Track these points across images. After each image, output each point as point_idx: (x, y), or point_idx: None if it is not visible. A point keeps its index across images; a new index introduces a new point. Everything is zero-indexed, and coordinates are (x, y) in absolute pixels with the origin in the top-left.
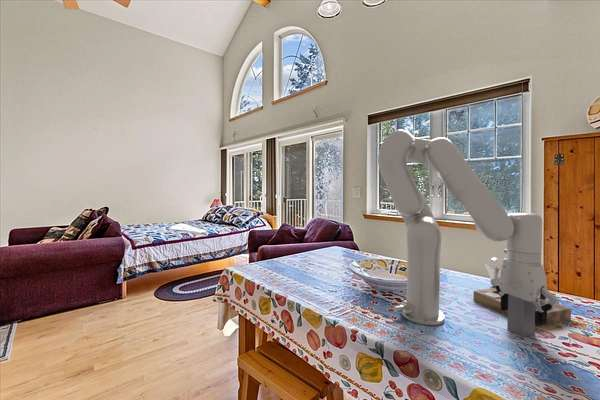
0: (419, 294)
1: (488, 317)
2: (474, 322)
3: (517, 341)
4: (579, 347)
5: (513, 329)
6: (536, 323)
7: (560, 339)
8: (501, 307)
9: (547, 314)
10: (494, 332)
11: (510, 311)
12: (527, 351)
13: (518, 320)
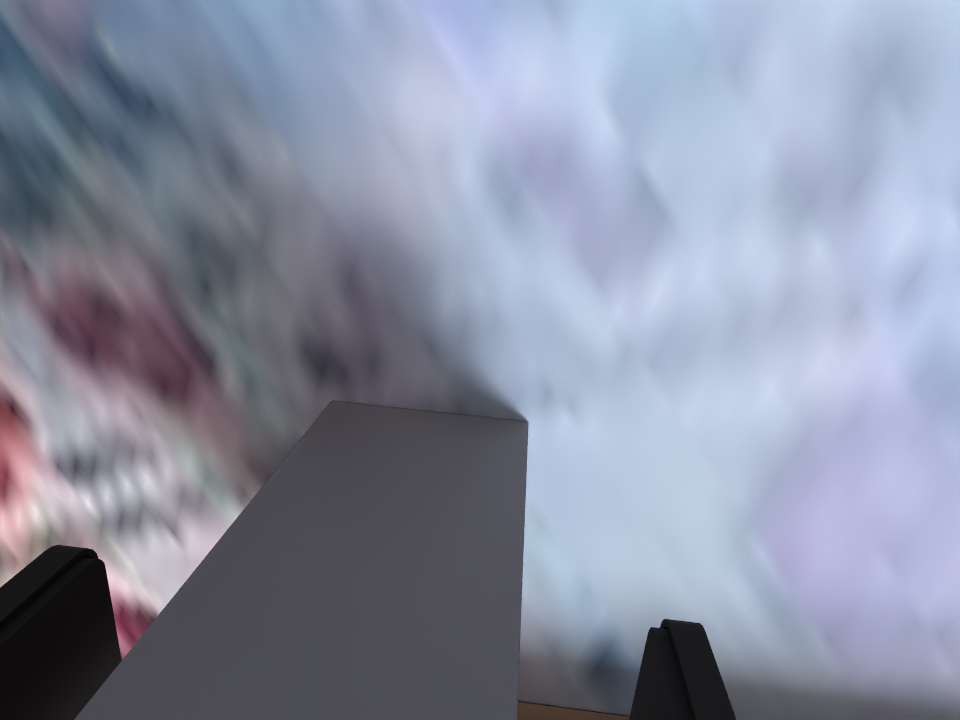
0: None
1: (846, 516)
2: (884, 182)
3: (278, 239)
4: None
5: (443, 431)
6: (43, 565)
7: None
8: (697, 660)
9: None
10: (542, 179)
11: (463, 605)
12: (73, 111)
13: (332, 516)
